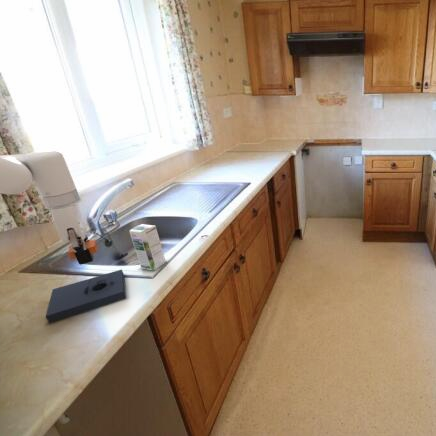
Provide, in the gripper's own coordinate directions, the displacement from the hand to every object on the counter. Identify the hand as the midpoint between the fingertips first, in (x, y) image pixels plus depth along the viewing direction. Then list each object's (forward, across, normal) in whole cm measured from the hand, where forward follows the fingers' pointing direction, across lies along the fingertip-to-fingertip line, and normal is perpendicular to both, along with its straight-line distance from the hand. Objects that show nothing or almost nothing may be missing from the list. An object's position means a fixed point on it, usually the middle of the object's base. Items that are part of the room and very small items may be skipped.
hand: (86, 257), depth 91 cm
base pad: (+13, 0, -3) cm, 13 cm away
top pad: (+1, 0, 0) cm, 1 cm away
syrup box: (+13, -8, +15) cm, 22 cm away
